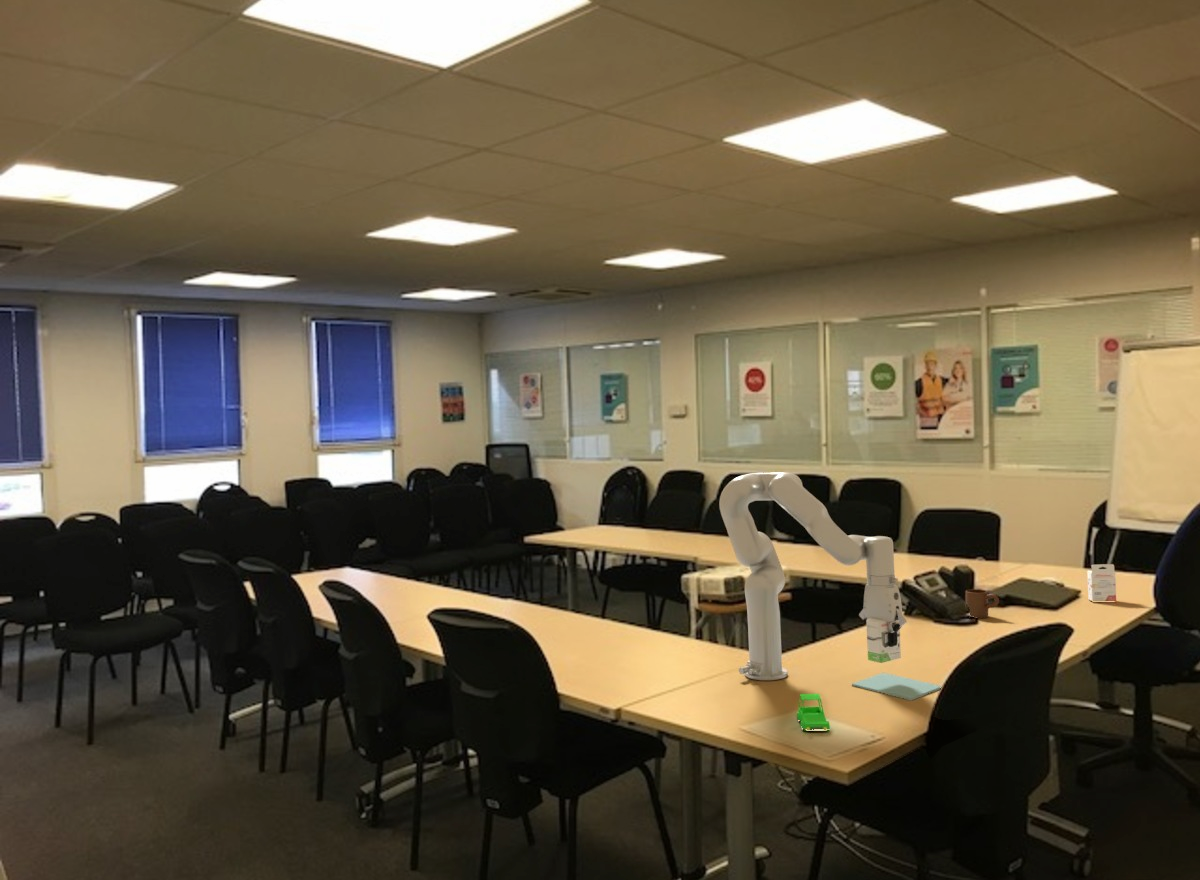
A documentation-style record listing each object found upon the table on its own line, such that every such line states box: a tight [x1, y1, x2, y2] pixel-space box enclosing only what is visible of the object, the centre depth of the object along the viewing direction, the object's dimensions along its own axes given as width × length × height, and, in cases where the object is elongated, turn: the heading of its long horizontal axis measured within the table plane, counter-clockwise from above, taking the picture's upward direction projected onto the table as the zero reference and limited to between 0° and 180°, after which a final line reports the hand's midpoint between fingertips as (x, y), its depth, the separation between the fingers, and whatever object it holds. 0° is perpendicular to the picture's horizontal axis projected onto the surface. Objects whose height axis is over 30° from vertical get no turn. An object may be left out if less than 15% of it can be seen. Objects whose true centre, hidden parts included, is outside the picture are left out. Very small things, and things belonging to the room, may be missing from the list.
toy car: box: [796, 693, 831, 730], centre depth 230 cm, size 11×7×7 cm, turn 176°
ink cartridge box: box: [1086, 563, 1117, 602], centre depth 352 cm, size 9×5×15 cm, turn 80°
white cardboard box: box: [865, 618, 902, 664], centre depth 261 cm, size 9×5×12 cm, turn 121°
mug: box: [965, 588, 1000, 619], centre depth 335 cm, size 12×8×9 cm, turn 40°
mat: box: [851, 672, 942, 701], centre depth 258 cm, size 15×19×1 cm
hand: (883, 643), depth 261 cm, fingers closed on white cardboard box, 5 cm apart
